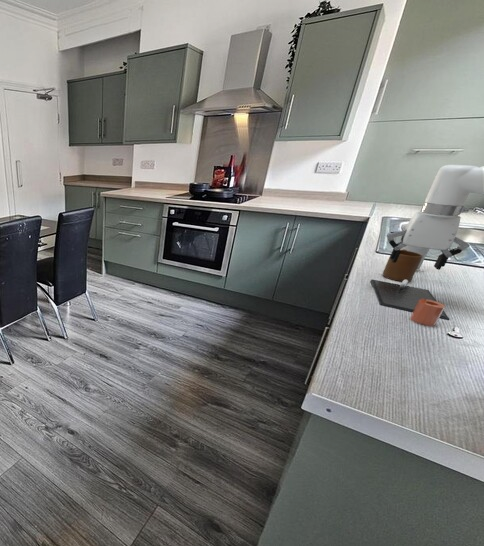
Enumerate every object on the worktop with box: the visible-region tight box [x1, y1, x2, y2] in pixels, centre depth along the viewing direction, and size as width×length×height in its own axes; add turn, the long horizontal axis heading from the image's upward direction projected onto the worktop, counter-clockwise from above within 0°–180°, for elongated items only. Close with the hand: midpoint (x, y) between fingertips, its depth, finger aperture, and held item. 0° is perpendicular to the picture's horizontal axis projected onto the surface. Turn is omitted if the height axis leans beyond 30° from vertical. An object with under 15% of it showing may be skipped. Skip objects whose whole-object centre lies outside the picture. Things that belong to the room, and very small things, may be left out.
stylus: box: [399, 279, 409, 288], centre depth 103 cm, size 1×1×13 cm
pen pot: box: [409, 299, 446, 327], centre depth 82 cm, size 5×5×6 cm
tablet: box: [370, 278, 451, 321], centre depth 96 cm, size 14×22×1 cm, turn 144°
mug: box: [382, 248, 422, 282], centre depth 111 cm, size 12×8×9 cm, turn 141°
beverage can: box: [403, 246, 430, 271], centre depth 117 cm, size 6×6×12 cm
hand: (414, 264), depth 96 cm, fingers open, 9 cm apart
